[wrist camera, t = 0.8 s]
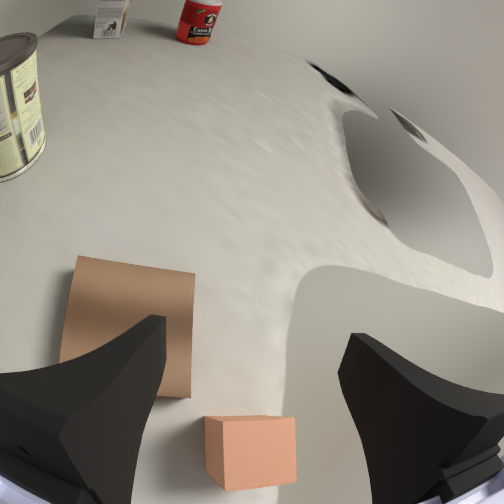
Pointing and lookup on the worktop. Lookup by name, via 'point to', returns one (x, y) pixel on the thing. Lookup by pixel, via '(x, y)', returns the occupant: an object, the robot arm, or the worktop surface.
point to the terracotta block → (250, 451)
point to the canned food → (198, 21)
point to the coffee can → (19, 105)
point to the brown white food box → (111, 18)
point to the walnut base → (131, 313)
